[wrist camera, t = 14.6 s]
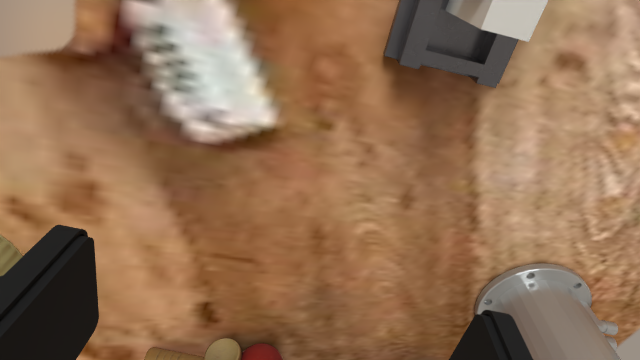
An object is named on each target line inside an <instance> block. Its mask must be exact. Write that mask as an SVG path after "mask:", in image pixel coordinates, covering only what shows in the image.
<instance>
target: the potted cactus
mask: <svg viewBox="0 0 640 360" xmlns="http://www.w3.org/2000/svg"><path fill="white" fill-rule="evenodd" d="M22 257H23V256H22V255H21V253H20V252H19V251H18V250H17V248H16V247H15V246H14V245H13V244H12V243H10V242H9V241H8V240H7V239H5V238H4V237H2V236H1V235H0V276H2V275H4V274H5V273H6V272H7V271H8V270H9V269H10V268H11V267H12V266H14V265H15V264H16V263H17V262H18V261H19V260H20V259H21V258H22Z"/></svg>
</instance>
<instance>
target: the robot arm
mask: <svg viewBox="0 0 640 360" xmlns="http://www.w3.org/2000/svg"><path fill="white" fill-rule="evenodd" d="M591 304H592V296H591V292H590V289H589V288H588V286H587V285H586V283H585V282H584V280H583V279H582V278H581V277H580V276H579V275H578V274H577V273H575V272H574V271H572V270H571V269H568V268H566V267H563V266H559V265H555V264H542V263H540V264H530V265H525V266H521V267H517V268H514V269H512V270H509V271H507V272H505V273H503V274H501V275H499V276H498V277H496V278H495V279H494V280H492V281H491V282H490V283H489V284H488V285H487V286H486V287H485V288H484V289H483V290H482V292H481V293H480V295H479V296H478V299H477V301H476V304H475V317H474V318H473V320H472V322H471V323H470V325H469V327H468V328H467V330H466V332H465V333H464V335H463V337H462V338H461V340H460V342H459V344H458V345H457V347H456V349H455V350H454V352H453V354H452V355H451V357H450V359H449V360H621V359H620V358H619V356H618V355H617V353H616V349H617V343H616V341H615V339H614V338H612V337H609V336H604V335H603V333H606V334H611V335H615V334H617V332H618V327H617V324H615V323H614V322H609V321H604V320H598V318H597V317H596V315H595V314H594V313H593V311H592V310H591ZM98 319H99V312H98V296H97V281H96V265H95V249H94V240H93V238H90V237H88V235H87V232H86V230H83V229H78V228H73V227H68V226H63V225H57V226H55V227H53V228H52V229H51V230H50V231H49V232H48V233H47V234H46V235H45V236H44V237H43V238H42V239H41V240H40V241H39V242H38V243H36V244H35V245H34V246H33V247H32V248H31V249H30V250H29V251H28V252H27V253H26V254H25V255H24V256H23V257H22V258H21V259H20V260H19V261H18V262H17V263H16V264H15V265H14V266H12V267H11V268H10V269H9V270H8V271H7V272H6V273H5V274H4V275H2V276H0V360H76V359H77V357H78V356H79V354H80V353H81V351H82V349H83V348H84V346H85V345H86V343H87V342H88V340H89V339H90V337H91V336H92V334H93V332H94V331H95V328H96V326H97V323H98Z"/></svg>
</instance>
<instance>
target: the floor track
mask: <svg viewBox="0 0 640 360" xmlns="http://www.w3.org/2000/svg"><path fill="white" fill-rule="evenodd" d="M448 2H449V0H399V3H398V6H397V9H396V13H395V16H394V19H393V23H392V26H391V30H390V33H389V36H388V40H387V43H386V46H385V50H384V53H383V54H384V56H387V57H391V58H395V59H397V61H398V63H399V65H403V66H407V67H411V68H416V69H419V68H420V65H424V66H428V67H432V68H436V69H440V70H444V71H448V72H452V73H457V74H461V75H465V76H469V77H470V78H471V79H473V80H474V81H475V82H476V83H478V84H482V85H486V86H490V87H494V88H496V86H497V83H498V84H499V82H500V80H501V77H502V75H503V73H504V71H505V68H506V66H507V64H508V62H509V60H510V57H511V55H512V53H513V51H514V48H515V46H516V44H517V42H518V40H519V39H516V38H512V37H508V36H505V35H501V34H497V33H493V32H489V31H485V30H482V29H479V28H477V27H476V26H474V25H472V24H470V23H468V22H466V21H464V20H462V19H460V18H458V17H457V16H455V15H453V14H451V13H449V12H447V11H445V10H446V7H447V5H448Z"/></svg>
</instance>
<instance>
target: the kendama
mask: <svg viewBox="0 0 640 360" xmlns="http://www.w3.org/2000/svg"><path fill="white" fill-rule="evenodd" d="M242 352H243V353H242ZM144 360H283V357H282V355H281V354H280V352H279V351H278V350H277V349H276V348H275V347H273V346H271V345H268V344H264V343H259V344H255V345H252V346H250V347H248V348H247V349H246V350H243V351H241V348H240V346H239V344H238V343H237V342H236V341H235V340H233V339H230V338H222V339H219V340H217V341H215V342H213V343H212V344H211V345H210V346H209V348H208V349H207V351H206V353H205V358H204V357H201V356H197V355H192V354H186V353H181V352H175V351H170V350H164V349H160V348H155V347H152V348H151V349H149V351H148V352H147V354H146V356H145V359H144Z"/></svg>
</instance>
